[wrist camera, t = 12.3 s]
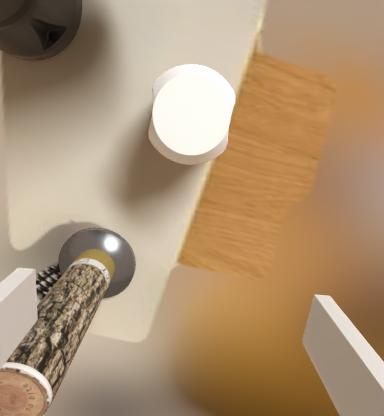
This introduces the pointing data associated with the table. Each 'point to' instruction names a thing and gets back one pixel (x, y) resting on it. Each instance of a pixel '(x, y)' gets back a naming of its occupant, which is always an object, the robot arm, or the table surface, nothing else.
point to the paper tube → (54, 336)
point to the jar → (191, 114)
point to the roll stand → (108, 244)
